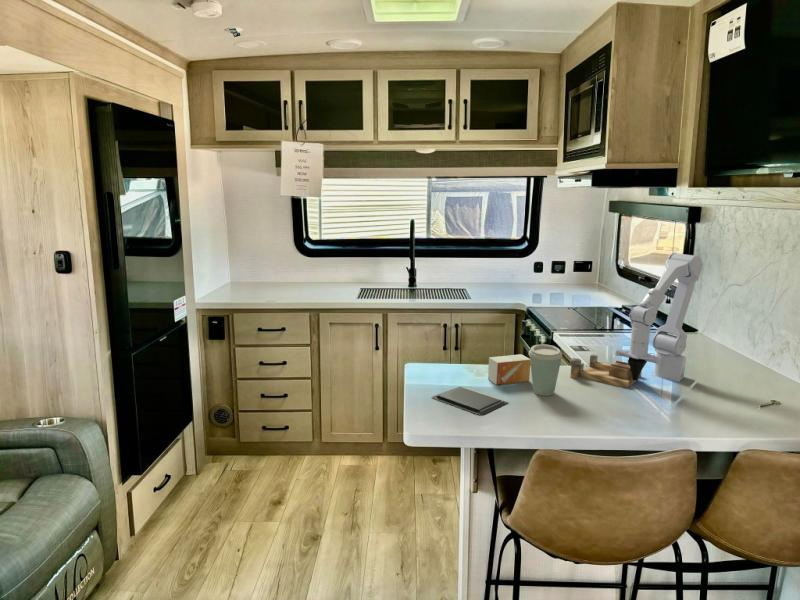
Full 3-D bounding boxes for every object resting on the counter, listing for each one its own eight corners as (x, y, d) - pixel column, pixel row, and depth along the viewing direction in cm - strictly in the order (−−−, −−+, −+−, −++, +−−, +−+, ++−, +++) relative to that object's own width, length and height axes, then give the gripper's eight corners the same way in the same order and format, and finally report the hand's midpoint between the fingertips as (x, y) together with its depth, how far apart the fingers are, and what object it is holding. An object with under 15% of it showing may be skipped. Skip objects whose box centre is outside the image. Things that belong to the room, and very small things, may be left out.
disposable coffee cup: (565, 397, 183) (568, 352, 180) (533, 399, 182) (536, 353, 178) (551, 385, 194) (554, 343, 190) (521, 387, 192) (523, 344, 189)
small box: (529, 381, 197) (496, 385, 193) (520, 375, 203) (487, 379, 199) (531, 359, 195) (497, 362, 191) (521, 353, 201) (488, 357, 197)
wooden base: (640, 378, 203) (643, 359, 201) (622, 392, 189) (625, 372, 187) (587, 366, 215) (589, 348, 213) (567, 379, 201) (568, 359, 199)
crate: (633, 378, 201) (635, 363, 200) (625, 384, 195) (627, 369, 194) (616, 374, 205) (617, 359, 204) (608, 380, 199) (609, 365, 197)
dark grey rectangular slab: (429, 393, 181) (461, 382, 191) (429, 399, 181) (460, 388, 192) (480, 412, 167) (510, 399, 177) (479, 418, 167) (510, 405, 178)
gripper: (614, 339, 195) (610, 377, 198) (658, 348, 186) (654, 387, 189) (621, 335, 201) (617, 372, 203) (664, 343, 192) (660, 382, 194)
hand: (635, 379), depth 197 cm, fingers closed
